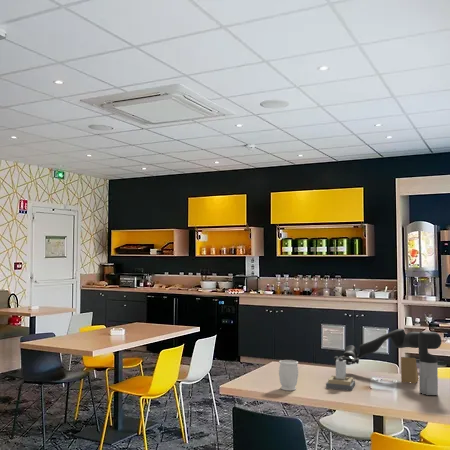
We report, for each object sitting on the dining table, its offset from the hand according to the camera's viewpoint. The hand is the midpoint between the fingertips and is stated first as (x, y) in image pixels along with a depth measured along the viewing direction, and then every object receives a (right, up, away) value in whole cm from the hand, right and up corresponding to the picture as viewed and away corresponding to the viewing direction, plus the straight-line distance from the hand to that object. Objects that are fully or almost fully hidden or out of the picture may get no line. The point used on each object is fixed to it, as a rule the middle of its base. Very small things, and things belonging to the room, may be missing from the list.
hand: (345, 361), depth 313 cm
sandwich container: (+41, -14, +10) cm, 45 cm away
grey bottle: (-5, -9, -11) cm, 15 cm away
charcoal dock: (-5, -11, -11) cm, 17 cm away
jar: (-35, -10, -20) cm, 42 cm away
